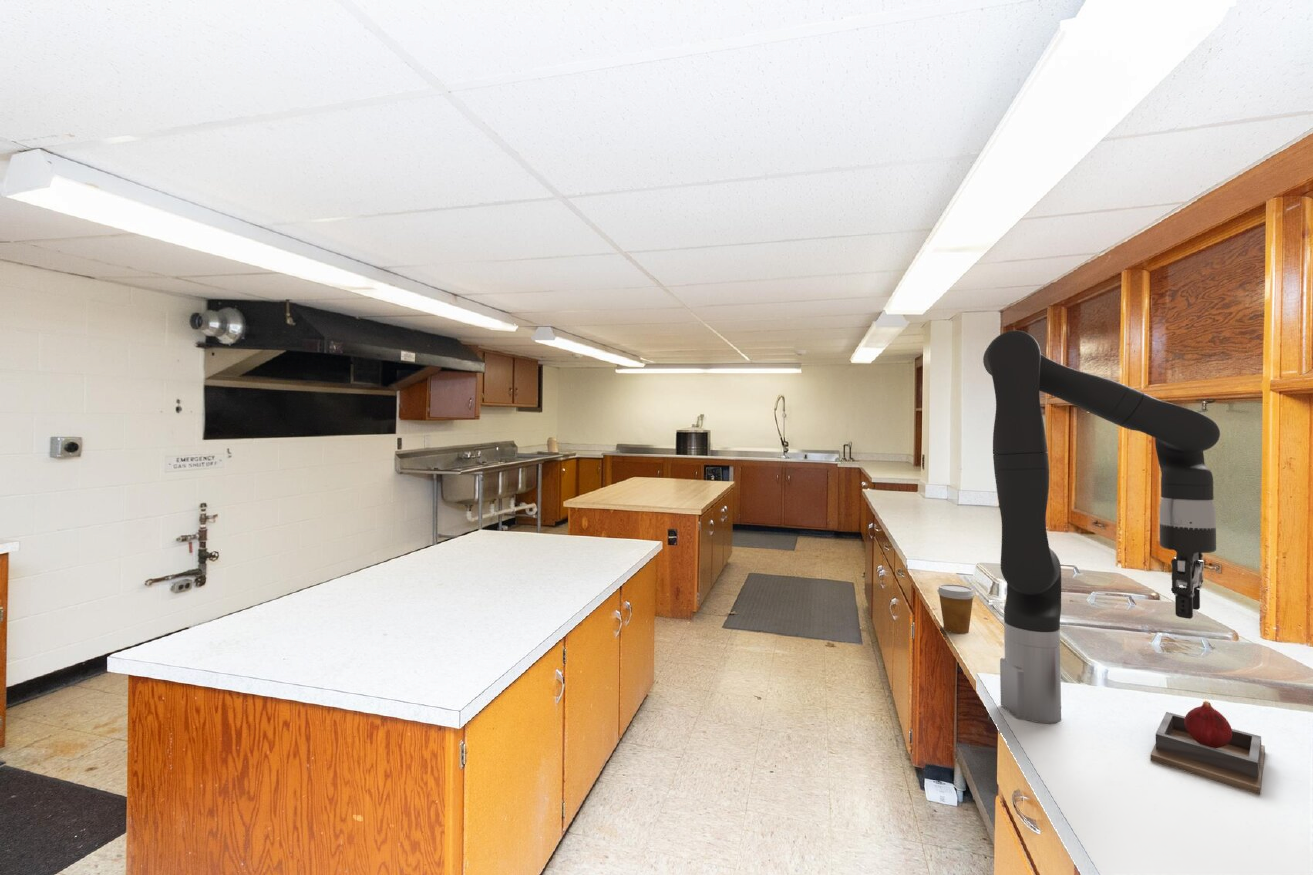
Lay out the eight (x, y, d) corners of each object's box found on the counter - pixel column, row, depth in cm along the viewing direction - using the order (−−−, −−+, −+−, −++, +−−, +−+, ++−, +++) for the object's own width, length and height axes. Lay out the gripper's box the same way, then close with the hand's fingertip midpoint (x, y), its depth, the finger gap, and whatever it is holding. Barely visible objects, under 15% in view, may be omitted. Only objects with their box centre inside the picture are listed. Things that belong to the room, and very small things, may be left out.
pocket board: (1260, 794, 86) (1259, 771, 86) (1150, 760, 95) (1150, 739, 95) (1264, 751, 98) (1264, 731, 98) (1166, 724, 107) (1166, 706, 107)
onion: (1242, 760, 93) (1241, 711, 93) (1200, 756, 94) (1200, 708, 95) (1215, 742, 99) (1214, 696, 99) (1176, 739, 100) (1176, 693, 100)
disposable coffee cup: (976, 628, 164) (975, 586, 164) (974, 637, 156) (973, 593, 156) (939, 622, 169) (939, 582, 169) (935, 631, 161) (935, 589, 161)
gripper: (1210, 529, 96) (1211, 626, 96) (1220, 522, 105) (1221, 610, 105) (1152, 524, 102) (1153, 615, 102) (1166, 518, 111) (1167, 601, 111)
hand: (1188, 612), depth 103 cm, fingers open, 8 cm apart
